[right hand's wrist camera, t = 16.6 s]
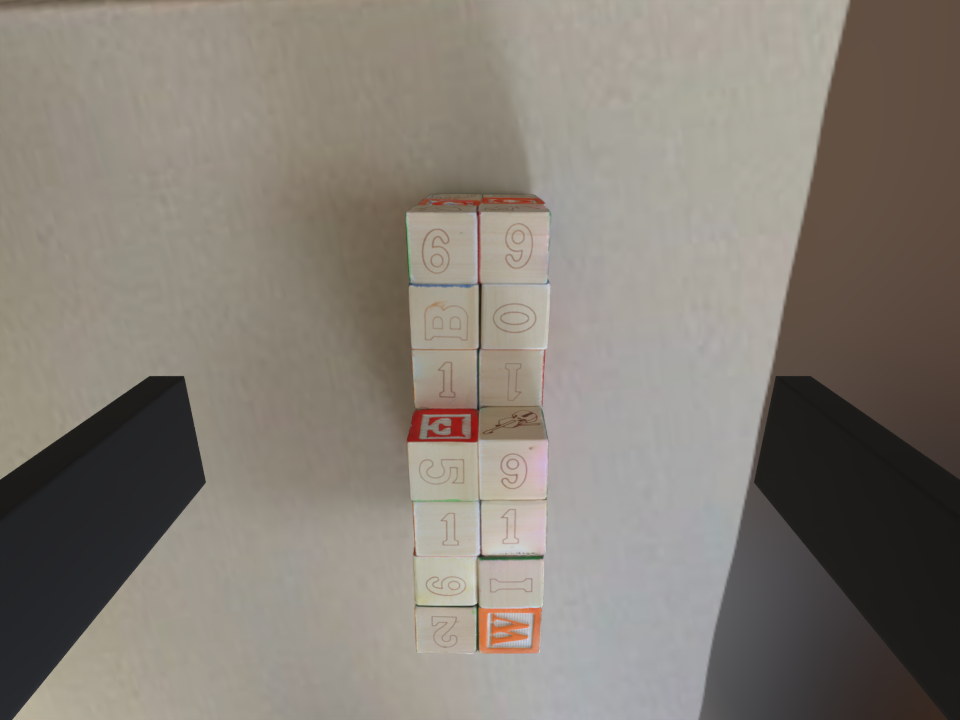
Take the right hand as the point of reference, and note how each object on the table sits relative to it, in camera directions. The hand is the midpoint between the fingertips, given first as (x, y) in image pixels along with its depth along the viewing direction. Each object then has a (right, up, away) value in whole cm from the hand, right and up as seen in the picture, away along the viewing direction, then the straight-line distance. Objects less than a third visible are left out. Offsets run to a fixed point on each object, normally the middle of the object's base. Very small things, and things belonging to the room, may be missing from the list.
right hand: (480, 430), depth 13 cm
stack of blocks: (0, +1, +23) cm, 23 cm away
